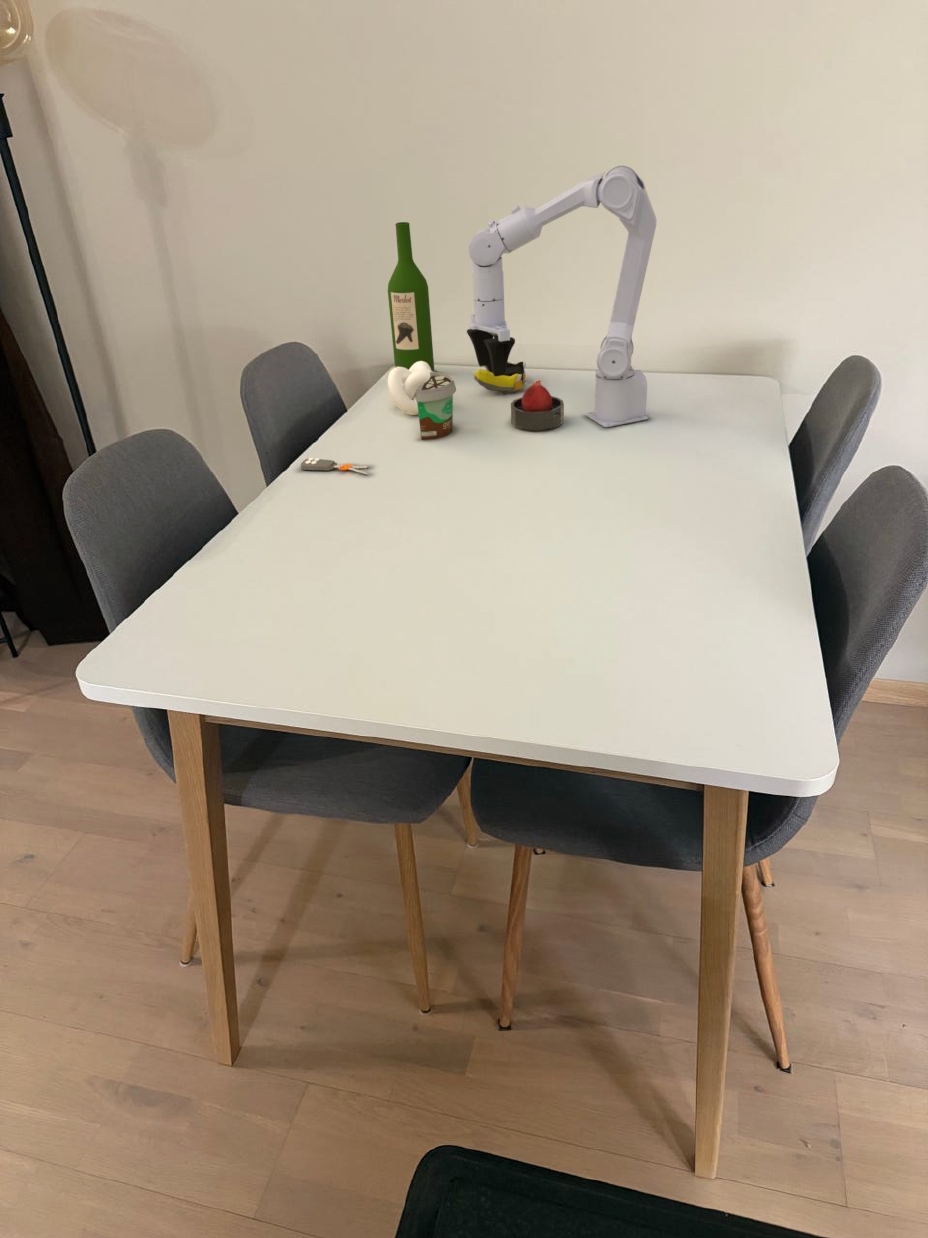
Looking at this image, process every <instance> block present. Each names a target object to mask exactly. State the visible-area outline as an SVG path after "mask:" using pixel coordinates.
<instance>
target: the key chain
mask: <svg viewBox="0 0 928 1238" xmlns="http://www.w3.org/2000/svg"><path fill="white" fill-rule="evenodd" d="M300 468H301V470H305V471H332V470H334V469H338V470H341V471H348V470H350V471H354V472H356V473H359V474H364V475H368V472H366V471H363V470H359V469H367V468H369V466H368V465H353V464H350V463H346V464H342V465H341V464H340V465H339V464H338V462H335V460H332V459H321V458H320V457H315V458H314V457H308V458H306V459H304V460H303V461H302V462H301V463H300Z"/></svg>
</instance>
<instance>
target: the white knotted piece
mask: <svg viewBox="0 0 928 1238" xmlns="http://www.w3.org/2000/svg"><path fill="white" fill-rule="evenodd" d="M430 372H433V371H431V368H430V366H429V365H428V363H427V362H424V361H419V362H416V363H414V364H413V365H412V366H411V368H410V369H409V370H408V369H406V368H404V367H396V368H395V367H393V368H392V369H391V370H390V371H389V373H388V375H387V389H388V392H389V396H390V397H391V400H392V401H393V402H394V404H395V405H396V406H397V407H398V409H399V410H400V411H401V412H403V413H405V414H407V415H408V416H419V413H418V404H417V402H416V390H421V389H422V387H423V385H424V383H425V382H427V381H428V380H429V379H430Z"/></svg>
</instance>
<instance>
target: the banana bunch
mask: <svg viewBox="0 0 928 1238" xmlns="http://www.w3.org/2000/svg"><path fill="white" fill-rule="evenodd" d="M526 366H527V362H524V361H518V362H517V363H512V362H510V361H508V362H507V367H506V371H505V375H501V376H494V375H493V371H492V365H491V361H490V365H486V366H484V368H485V369H481V368H479V369H478V370H476V371H474V373H473V378H474V380H475V381H476V382H477V383H478V384H479V385H480V386H481V387H482V388H484V389H485V390H486V391H487V390H488V391H497V392H498V391H499V392H501V393H502V394H503V395H504V394H505V395H510V394H511V395H512V394H513V393H514V392H517V391H520V390H521V389H523V383H524V382H525V381H526V380H527V379H526V378H527V377H526V371H525V369H526Z"/></svg>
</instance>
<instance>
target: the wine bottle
mask: <svg viewBox="0 0 928 1238" xmlns="http://www.w3.org/2000/svg"><path fill="white" fill-rule="evenodd" d="M394 225H395V235H396V248H397V250H396V251H397V264H396V265H395V268H394V270H393V272H392V274H391V276H390V279H389V280H388V284H387V297H388V298H387V299H388V308H389V319H390V327H391V328H390V329H391V339H392V349H393V360H394V368H396V367H404V368H406V369H408V370H409V369H410V368H411V366H412V365H413V364H414V363H416V362H419V361H424V362H427V363H428V365H429V366H430V368H431V371H433V372H435V361H434V359H435V358H434V347H433V333H432V320H431V319H432V318H431V307H430V293H429V285H428V281H427V279H426V277H425V276H424V275H423V273H422V271H421V270H420V269H419V267H418V266H417V264H416V262H415V261H414V257H413V248H412V237H411V227H410V226H411V225H410V222H408V221H400V222H396V223H395V224H394Z"/></svg>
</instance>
